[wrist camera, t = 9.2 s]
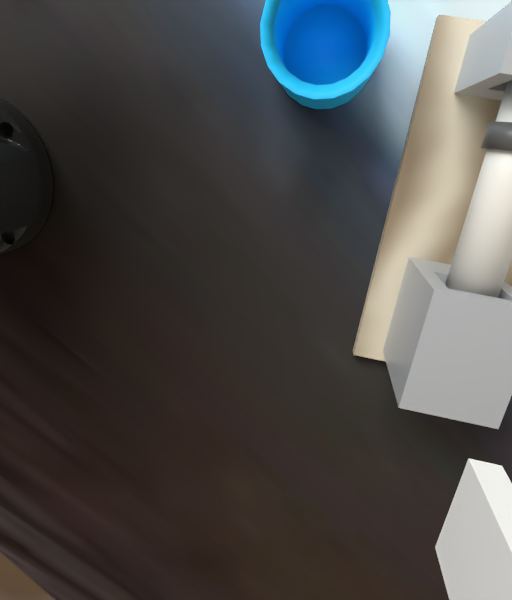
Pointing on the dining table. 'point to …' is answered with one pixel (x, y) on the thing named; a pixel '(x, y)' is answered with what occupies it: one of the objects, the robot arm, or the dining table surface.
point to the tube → (488, 214)
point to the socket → (488, 58)
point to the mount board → (429, 179)
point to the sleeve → (450, 348)
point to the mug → (324, 47)
